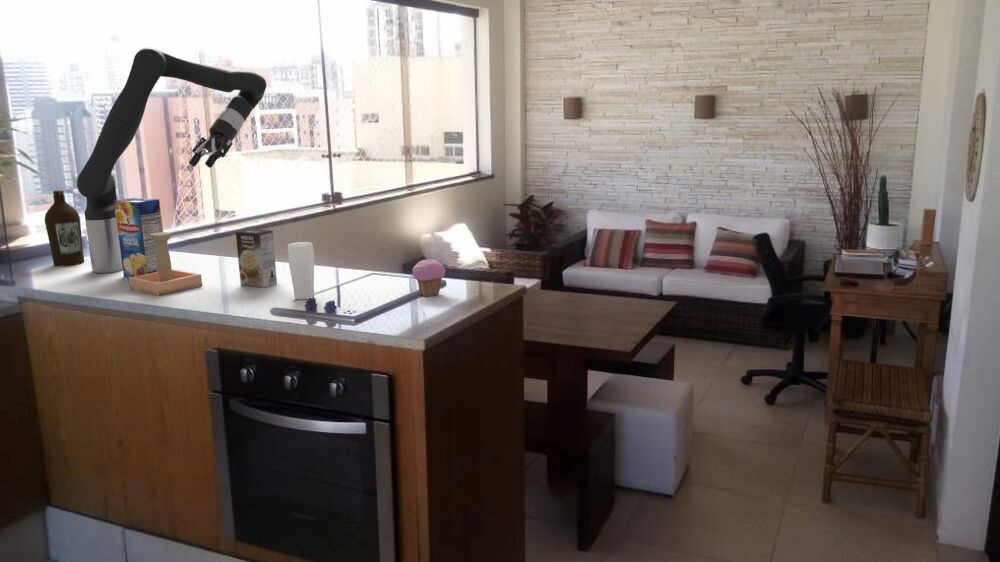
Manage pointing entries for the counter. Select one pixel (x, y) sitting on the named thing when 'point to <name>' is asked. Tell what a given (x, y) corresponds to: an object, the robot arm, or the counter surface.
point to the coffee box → (256, 257)
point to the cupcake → (429, 276)
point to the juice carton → (138, 234)
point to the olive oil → (64, 232)
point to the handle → (162, 255)
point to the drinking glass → (302, 269)
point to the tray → (165, 282)
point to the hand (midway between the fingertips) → (199, 165)
